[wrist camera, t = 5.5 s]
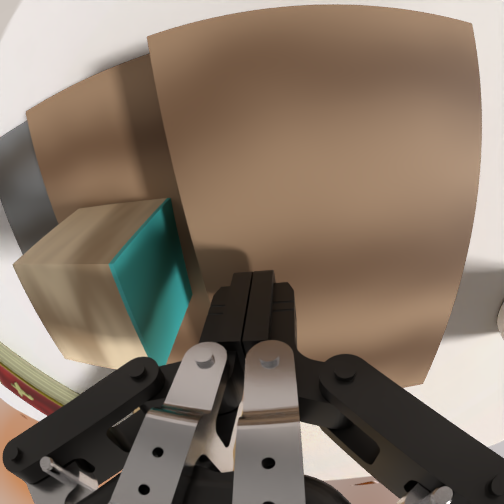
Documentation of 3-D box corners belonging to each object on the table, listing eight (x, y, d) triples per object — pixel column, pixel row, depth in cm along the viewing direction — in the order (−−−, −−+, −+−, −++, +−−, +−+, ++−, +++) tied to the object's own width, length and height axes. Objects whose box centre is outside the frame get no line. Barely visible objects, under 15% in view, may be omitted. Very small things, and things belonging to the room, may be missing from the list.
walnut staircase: (-11, 146, 17) (-65, 173, 11) (410, 39, 11) (472, 23, 6) (66, 327, 26) (37, 371, 21) (400, 318, 21) (422, 383, 16)
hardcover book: (102, 426, 42) (95, 444, 38) (10, 370, 39) (1, 385, 35) (105, 404, 36) (95, 426, 32) (-2, 336, 33) (-15, 354, 29)
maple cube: (170, 197, 14) (79, 208, 15) (113, 264, 9) (12, 264, 10) (192, 294, 17) (109, 292, 18) (161, 376, 12) (65, 358, 13)
